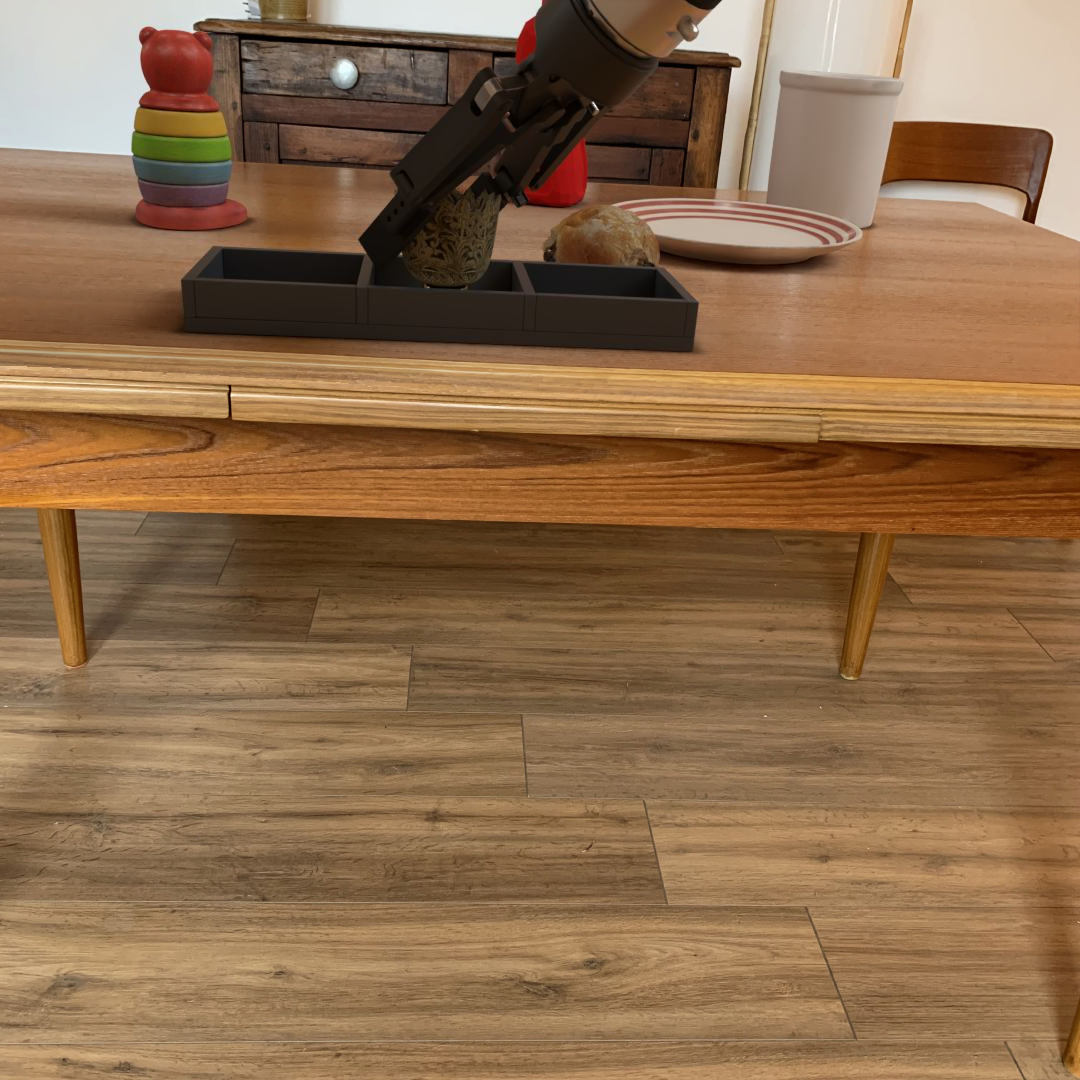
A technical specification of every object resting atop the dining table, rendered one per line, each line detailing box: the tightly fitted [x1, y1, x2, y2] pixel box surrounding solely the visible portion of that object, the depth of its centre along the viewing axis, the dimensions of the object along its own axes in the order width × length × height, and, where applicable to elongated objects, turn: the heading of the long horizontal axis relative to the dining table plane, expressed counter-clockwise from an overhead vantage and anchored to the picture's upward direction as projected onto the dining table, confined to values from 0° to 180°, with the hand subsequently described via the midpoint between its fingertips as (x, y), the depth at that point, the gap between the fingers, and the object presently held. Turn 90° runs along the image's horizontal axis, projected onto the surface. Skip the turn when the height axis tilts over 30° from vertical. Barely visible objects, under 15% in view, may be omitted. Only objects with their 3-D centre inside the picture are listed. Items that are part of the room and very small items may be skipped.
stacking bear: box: [130, 26, 248, 231], centre depth 106 cm, size 11×10×18 cm
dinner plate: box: [611, 197, 864, 266], centre depth 117 cm, size 28×27×3 cm
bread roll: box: [541, 204, 661, 267], centre depth 98 cm, size 10×10×8 cm
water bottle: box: [515, 0, 589, 208], centre depth 134 cm, size 9×11×25 cm
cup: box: [394, 186, 501, 290], centre depth 78 cm, size 8×7×8 cm
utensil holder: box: [765, 69, 905, 229], centre depth 138 cm, size 15×15×18 cm
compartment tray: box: [180, 245, 700, 353], centre depth 79 cm, size 35×12×4 cm, turn 95°
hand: (409, 248), depth 80 cm, fingers closed on cup, 7 cm apart
